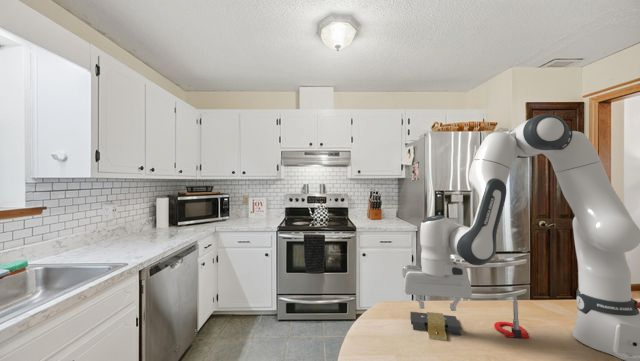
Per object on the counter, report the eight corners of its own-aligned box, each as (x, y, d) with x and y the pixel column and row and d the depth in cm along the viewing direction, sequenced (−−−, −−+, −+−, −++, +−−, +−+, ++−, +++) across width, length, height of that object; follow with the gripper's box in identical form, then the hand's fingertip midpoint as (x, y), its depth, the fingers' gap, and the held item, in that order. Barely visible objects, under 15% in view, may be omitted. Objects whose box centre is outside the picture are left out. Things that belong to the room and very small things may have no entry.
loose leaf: (443, 328, 94) (443, 313, 94) (446, 341, 87) (446, 324, 87) (427, 326, 96) (426, 311, 96) (429, 338, 88) (428, 322, 88)
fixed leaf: (455, 319, 100) (455, 312, 100) (461, 335, 90) (461, 327, 90) (410, 314, 104) (410, 307, 104) (411, 329, 94) (411, 321, 94)
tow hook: (490, 324, 98) (502, 337, 88) (488, 285, 98) (501, 295, 89) (517, 325, 96) (533, 339, 87) (515, 286, 97) (531, 296, 88)
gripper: (402, 267, 93) (404, 310, 93) (472, 270, 88) (474, 316, 87) (402, 262, 99) (403, 302, 99) (467, 264, 94) (469, 307, 94)
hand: (437, 309), depth 93 cm, fingers open, 8 cm apart
